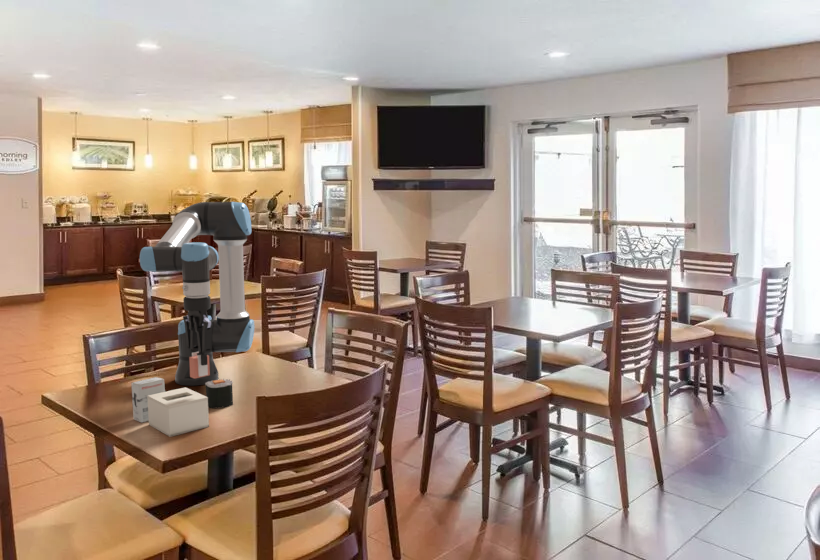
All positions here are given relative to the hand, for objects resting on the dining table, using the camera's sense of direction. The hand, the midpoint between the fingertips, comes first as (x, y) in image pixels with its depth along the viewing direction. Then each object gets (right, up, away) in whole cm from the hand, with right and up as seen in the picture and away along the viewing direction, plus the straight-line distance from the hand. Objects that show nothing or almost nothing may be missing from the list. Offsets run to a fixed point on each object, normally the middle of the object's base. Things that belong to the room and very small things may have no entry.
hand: (200, 374), depth 204 cm
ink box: (-18, -15, +8) cm, 24 cm away
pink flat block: (0, -1, 0) cm, 1 cm away
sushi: (0, -13, +21) cm, 25 cm away
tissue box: (-7, -15, +1) cm, 17 cm away
